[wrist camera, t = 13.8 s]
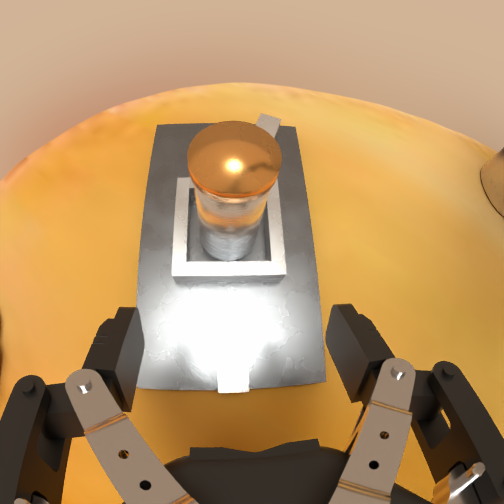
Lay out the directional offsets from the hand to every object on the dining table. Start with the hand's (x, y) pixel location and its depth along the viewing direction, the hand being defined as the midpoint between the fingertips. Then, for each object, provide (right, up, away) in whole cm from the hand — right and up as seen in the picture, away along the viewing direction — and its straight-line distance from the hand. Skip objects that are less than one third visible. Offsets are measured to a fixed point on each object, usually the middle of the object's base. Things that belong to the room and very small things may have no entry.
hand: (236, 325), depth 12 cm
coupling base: (-1, +4, +13) cm, 14 cm away
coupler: (-1, +4, +12) cm, 13 cm away
